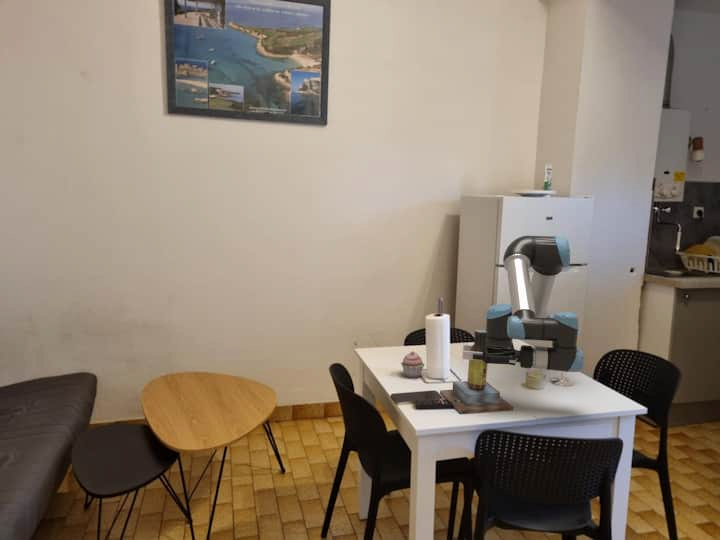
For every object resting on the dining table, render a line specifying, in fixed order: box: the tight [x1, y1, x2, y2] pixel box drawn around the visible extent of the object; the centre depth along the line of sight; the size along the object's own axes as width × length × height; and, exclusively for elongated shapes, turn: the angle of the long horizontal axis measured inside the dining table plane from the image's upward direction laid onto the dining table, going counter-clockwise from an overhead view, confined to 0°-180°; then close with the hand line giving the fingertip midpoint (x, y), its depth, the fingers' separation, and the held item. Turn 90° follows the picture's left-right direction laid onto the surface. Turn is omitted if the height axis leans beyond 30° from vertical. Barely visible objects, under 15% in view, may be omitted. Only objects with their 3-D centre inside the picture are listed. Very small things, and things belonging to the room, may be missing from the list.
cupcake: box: [400, 350, 425, 379], centre depth 203 cm, size 9×9×10 cm
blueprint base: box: [439, 380, 514, 415], centre depth 179 cm, size 19×18×5 cm
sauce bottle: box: [467, 329, 488, 390], centre depth 177 cm, size 6×6×20 cm
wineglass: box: [551, 371, 573, 387], centre depth 198 cm, size 8×8×20 cm
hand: (463, 351), depth 178 cm, fingers open, 7 cm apart
